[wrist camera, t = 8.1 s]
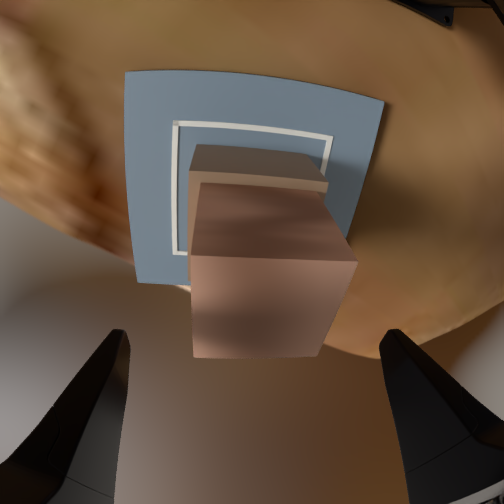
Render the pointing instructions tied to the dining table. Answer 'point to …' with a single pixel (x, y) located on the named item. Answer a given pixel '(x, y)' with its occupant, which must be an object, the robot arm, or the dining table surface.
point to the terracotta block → (265, 272)
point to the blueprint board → (237, 106)
